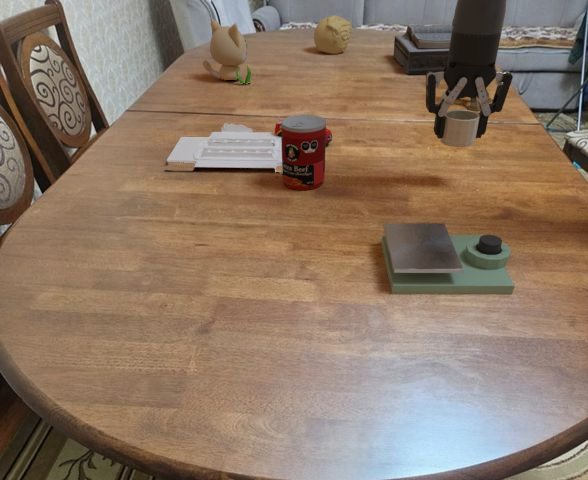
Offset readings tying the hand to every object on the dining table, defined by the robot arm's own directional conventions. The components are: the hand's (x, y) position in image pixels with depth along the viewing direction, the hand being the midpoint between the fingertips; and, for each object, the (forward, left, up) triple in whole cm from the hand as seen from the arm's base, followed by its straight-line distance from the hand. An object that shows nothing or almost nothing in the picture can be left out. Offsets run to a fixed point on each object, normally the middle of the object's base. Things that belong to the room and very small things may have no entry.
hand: (458, 136), depth 96 cm
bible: (-12, -90, -8) cm, 91 cm away
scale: (+7, +30, -8) cm, 32 cm away
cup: (0, 0, -1) cm, 1 cm away
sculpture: (+18, -109, -8) cm, 111 cm away
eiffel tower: (-14, -50, -8) cm, 52 cm away
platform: (+11, +30, -5) cm, 32 cm away
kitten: (+48, -73, -8) cm, 88 cm away
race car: (+27, -22, -8) cm, 36 cm away
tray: (+40, -15, -8) cm, 44 cm away
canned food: (+27, 0, -8) cm, 29 cm away
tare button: (+1, +30, -6) cm, 31 cm away
